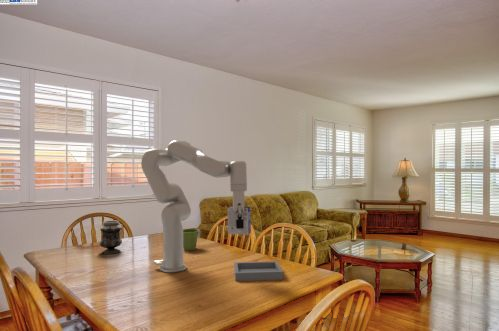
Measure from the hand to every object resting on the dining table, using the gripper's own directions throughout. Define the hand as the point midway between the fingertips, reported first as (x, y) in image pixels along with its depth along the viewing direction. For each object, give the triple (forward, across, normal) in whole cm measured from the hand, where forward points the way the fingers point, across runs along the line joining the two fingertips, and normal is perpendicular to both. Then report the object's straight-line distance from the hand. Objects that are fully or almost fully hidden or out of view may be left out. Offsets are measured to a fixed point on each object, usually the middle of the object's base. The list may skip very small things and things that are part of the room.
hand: (239, 226), depth 153 cm
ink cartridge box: (+3, 0, 0) cm, 3 cm away
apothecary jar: (+21, -46, -74) cm, 90 cm away
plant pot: (+21, -50, -29) cm, 62 cm away
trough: (+22, 0, +8) cm, 24 cm away
